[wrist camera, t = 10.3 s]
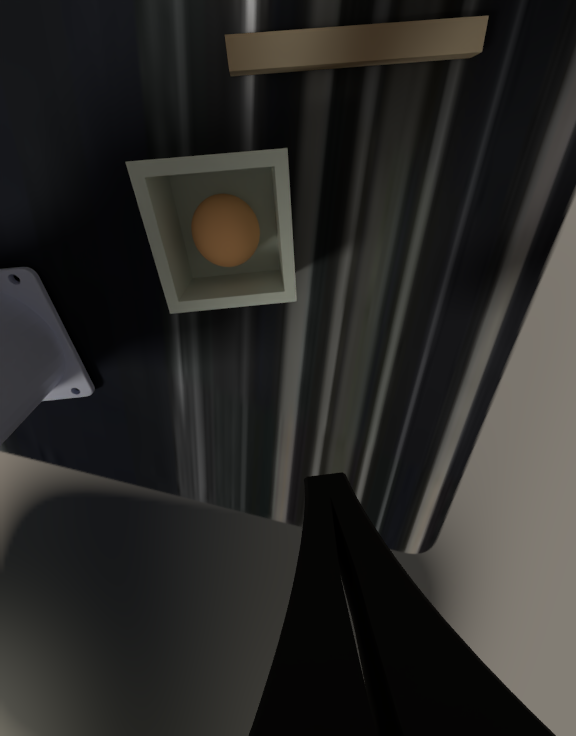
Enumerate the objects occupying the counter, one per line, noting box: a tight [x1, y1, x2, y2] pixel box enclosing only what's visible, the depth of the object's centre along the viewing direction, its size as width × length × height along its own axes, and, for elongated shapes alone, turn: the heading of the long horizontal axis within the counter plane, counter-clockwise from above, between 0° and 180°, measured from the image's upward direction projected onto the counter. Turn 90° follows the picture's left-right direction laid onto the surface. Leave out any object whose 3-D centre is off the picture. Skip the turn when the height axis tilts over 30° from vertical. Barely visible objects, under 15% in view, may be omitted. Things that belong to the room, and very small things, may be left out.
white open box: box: [125, 148, 297, 314], centre depth 14 cm, size 6×6×4 cm
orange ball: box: [191, 194, 260, 267], centre depth 14 cm, size 3×3×3 cm
